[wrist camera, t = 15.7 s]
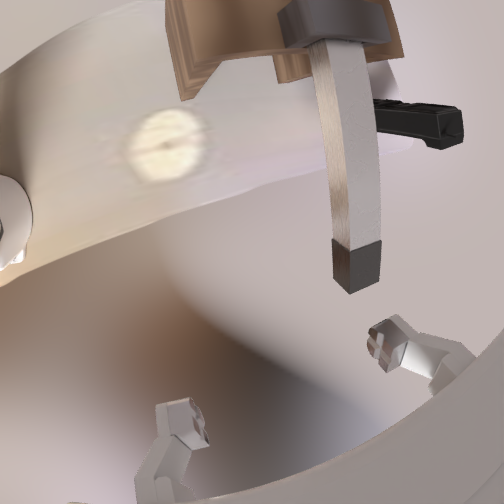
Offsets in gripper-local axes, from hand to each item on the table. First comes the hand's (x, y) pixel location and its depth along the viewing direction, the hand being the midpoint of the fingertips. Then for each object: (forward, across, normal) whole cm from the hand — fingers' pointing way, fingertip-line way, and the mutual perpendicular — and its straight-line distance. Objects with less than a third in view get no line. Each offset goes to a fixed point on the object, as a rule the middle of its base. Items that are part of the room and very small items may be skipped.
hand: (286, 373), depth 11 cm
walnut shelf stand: (+37, -10, -21) cm, 44 cm away
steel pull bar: (+11, -10, -7) cm, 16 cm away
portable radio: (+37, -32, -7) cm, 50 cm away
